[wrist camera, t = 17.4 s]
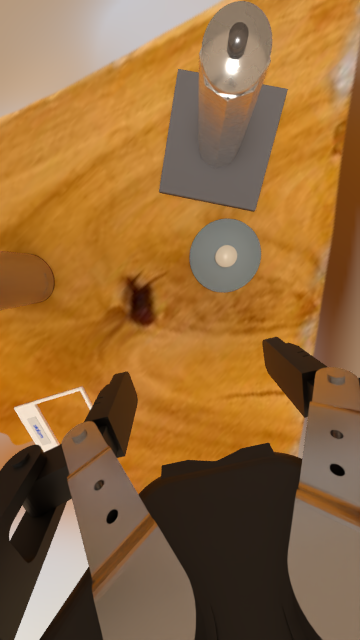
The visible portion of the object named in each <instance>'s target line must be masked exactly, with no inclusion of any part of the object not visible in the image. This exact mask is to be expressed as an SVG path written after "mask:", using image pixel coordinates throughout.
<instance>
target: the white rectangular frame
mask: <svg viewBox="0 0 360 640" xmlns="http://www.w3.org/2000/svg"><path fill="white" fill-rule="evenodd" d="M77 391H80V392H81V393H82V395H83V397H84V399H85V401H86V403H87V405H88V407H89V409H90V410H91V408H92V406H93V405H92V403H91V401H90V399H89V397H88V395H87V393H86V391H85V390H84V388H83V386H81V387H78V388H74V389H71V390H68V391H65V392H61V393H58V394H55V395H52V396H48V397H45V398H42V399H39V400H35V401H32V402H29V403H26V404H22V405H19V406H16V407H14V409H15V411H16V413H17V414H18V416H19V418H20V419H21V421H22V422H23V424H24V426H25V427H26V429H27V431H28V432H29V434H30V436H31V437H32V439H33V441H34V442H35V444H36V445H39V446H41V448H42V450H43V451H44V452H45V451H48V450H50V449H52V448H54V447H56V446H58V445H60V444H59V442H58V440H57V439H56V437H55V435H54V433H53V432H52V430H51V428H50V427H49V425H48V423H47V421H46V420H45V418H44V416H43V414H42V413H41V411H40V409H39V407H38V406H37V404H38V403H41V402H44V401H47V400H51V399H54V398H57V397H61V396H64V395H67V394H70V393H74V392H77Z"/></svg>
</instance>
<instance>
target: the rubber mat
mask: <svg viewBox="0 0 360 640" xmlns="http://www.w3.org/2000/svg"><path fill="white" fill-rule="evenodd" d="M287 90H288V89H285V88H279V87H274V86H268V85H263V84H262V87H261V90H260V93H259V95H258V98H257V101H256V104H255V107H254V109H253V112H252V115H251V118H250V121H249V123H248V126H247V129H246V132H245V135H244V137H243V140H242V143H241V146H240V148H239V150H238V152H237V153H236V155H235V157H234V159H233V160H232V162H231V164H228V165H225V166H222V167H219V168H216V169H214V168H213V167H211V166H210V165H208V164H207V163H205V162H204V161H202V160H201V155H200V150H199V145H198V101H199V73H197V72H192V71H187V70H181V69H178V74H177V80H176V86H175V93H174V99H173V106H172V112H171V118H170V125H169V131H168V138H167V144H166V150H165V157H164V163H163V170H162V176H161V182H160V189H159V192H160V193H164V194H169V195H174V196H179V197H184V198H189V199H194V200H199V201H204V202H209V203H214V204H219V205H224V206H229V207H234V208H239V209H244V210H249V211H255V209H256V205H257V202H258V198H259V194H260V190H261V187H262V183H263V179H264V176H265V172H266V168H267V164H268V161H269V157H270V153H271V149H272V146H273V142H274V138H275V135H276V131H277V127H278V123H279V120H280V116H281V112H282V109H283V105H284V101H285V97H286V94H287Z"/></svg>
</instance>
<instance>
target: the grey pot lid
mask: <svg viewBox="0 0 360 640" xmlns="http://www.w3.org/2000/svg"><path fill="white" fill-rule="evenodd" d="M260 260H261V248H260V243H259V240H258V238H257V236H256V234H255V233H254V231H253V230H252V229H251V228H250V227H249V226H248V225H246V224H244V223H243V222H241V221H238V220H234V219H220V220H217V221H214V222H212V223H210V224H208V225H206V226H205V227H204V228H203V229H202V230H201V231H200V232H199V233H198V234H197V236H196V237H195V239H194V241H193V243H192V246H191V250H190V265H191V269H192V272H193V274H194V276H195V277H196V279H197V280H198V281H199V282H200V283H201V284H202V285H203V286H204V287H206V288H208V289H210V290H212V291H216V292H231V291H234V290H237V289H239V288H241V287H243V286H244V285H246V284H247V283H248V282H249V281H250V280H251V279H252V278H253V276H254V275H255V273H256V271H257V269H258V267H259V264H260Z"/></svg>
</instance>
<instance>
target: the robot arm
mask: <svg viewBox="0 0 360 640" xmlns="http://www.w3.org/2000/svg"><path fill="white" fill-rule="evenodd" d="M53 288H54V278H53V274H52V271H51V269H50V268H49V266H48V265H47V264H46V263H45V262H44V261H43V260H42V259H41V258H39V257H37V256H35V255H32V254H25V253H14V252H5V251H0V310H3V309H8V308H13V307H18V306H23V305H28V304H33V303H37V302H42V301H44V300H46V299H47V298H48V297H49V296H50V295H51V293H52V291H53ZM263 352H264V360H265V366H266V369H267V371H268V373H269V375H270V376H271V377H272V378H273V380H274V381H275V382H276V383H277V385H278V386H279V387H280V388H281V389H282V391H283V392H284V393H285V394H286V396H287V397H288V398H289V399H290V400H291V402H292V403H293V404H294V405H295V407H296V408H297V409H298V410H299V411H300V413H301V414H302V415H303V416H304V418H305V417H308V420H307V427H306V436H305V444H304V451H303V458H302V459H301V458H298V457H296V456H293V455H289V454H285V453H279V452H273V450H272V448H271V446H270V444H269V443H265V444H260V445H256V446H251V447H246V448H242V449H240V450H238V451H236V452H234V453H232V454H230V455H228V456H226V457H224V458H222V459H220V460H218V461H197V460H186V461H181V462H176V463H172V464H167V465H162V473H161V477H159V478H157V479H156V480H154V481H153V482H151V483H150V484H149V485H148V486H146V487H145V488H144V489H143V490H142V491H141V492H140V493H139V495H138V493H137V492H136V490H135V488H134V487H133V485H132V483H131V482H130V480H129V478H128V477H127V475H126V473H125V471H124V470H123V468H122V466H121V465H120V463H119V461H118V460H117V458H118V457H123V456H125V454H126V450H127V446H128V441H129V437H130V433H131V429H132V425H133V420H134V416H135V412H136V408H137V403H138V399H137V394H136V391H135V388H134V385H133V382H132V380H131V377H130V374H129V373H128V372H123V373H118V374H115V375H114V376H113V378H112V380H111V382H110V384H108V385H106V386H105V387H104V388H103V389H102V390H101V391H100V393H99V395H98V397H97V399H96V400H95V402H94V405H93V406H92V408H91V410H90V412H89V414H88V415H87V417H86V419H85V421H84V422H83V423H81V424H79V425H77V426H75V427H74V428H73V429H71V430H70V431H69V432H68V433H67V434H66V435H65V437H64V438H63V441H62V444H60V445H58V446H56V447H54V448H52V449H50V450H48V451H45V452H44V451H43V450H42V448H41V446H39V445H32V446H29V447H27V448H25V449H23V450H21V451H19V452H18V453H17V454H15V455H14V456H13V457H12V458H11V459H10V460H9V461H8V462H7V463H6V464H5V465H4V466H3V468H2V469H1V471H0V640H14V638H15V635H16V633H17V631H18V628H19V625H20V623H21V620H22V618H23V615H24V612H25V610H26V607H27V604H28V602H29V599H30V597H31V594H32V591H33V589H34V586H35V584H36V581H37V578H38V576H39V573H40V571H41V568H42V565H43V562H44V560H45V558H46V555H47V552H48V550H49V547H50V545H51V541H52V539H53V537H54V534H55V531H56V529H57V526H58V524H59V521H60V518H61V516H62V513H63V510H64V508H65V505H66V502H67V501H68V500H70V499H72V501H73V505H74V509H75V513H76V517H77V521H78V525H79V529H80V533H81V536H82V540H83V544H84V548H85V552H86V556H87V560H88V564H89V567H88V569H87V570H86V572H85V573H84V575H83V576H82V578H81V579H80V581H79V582H78V584H77V585H76V587H75V588H74V590H73V591H72V592H71V594H70V595H69V597H68V598H67V600H66V601H65V603H64V604H63V606H62V607H61V609H60V610H59V612H58V613H57V615H56V616H55V617H54V619H53V621H52V622H51V623H50V625H49V626H48V628H47V629H46V631H45V632H44V634H43V635H42V637H41V638H40V640H360V378H357V376H356V375H355V374H353V373H352V372H350V371H347V370H345V369H341V368H336V367H327V366H325V365H324V364H323V363H321V362H320V361H318V360H317V359H315V358H314V357H313V356H310V354H309V353H307V352H305V351H304V350H303V349H302V348H300V347H299V346H297V345H294V344H291V343H284V342H283V341H282V340H281V339H279V338H278V337H274V338H269V339H265V340H263ZM22 505H23V507H24V508H25V510H26V512H25V514H24V516H23V517H22V520H21V521H20V523H19V525H18V527H17V529H16V531H15V532H14V534H13V536H12V538H11V540H10V541H9V531H10V527H11V525H12V523H13V521H14V519H15V517H16V515H17V513H18V512H19V510H20V508H21V506H22Z"/></svg>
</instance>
